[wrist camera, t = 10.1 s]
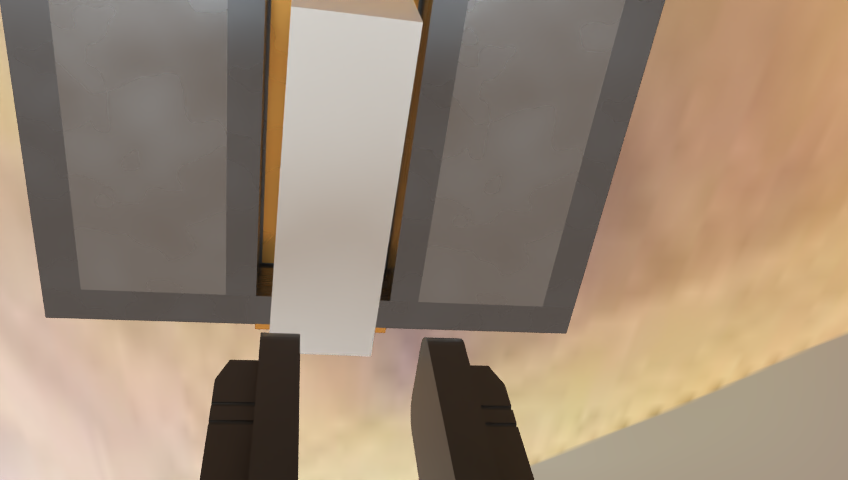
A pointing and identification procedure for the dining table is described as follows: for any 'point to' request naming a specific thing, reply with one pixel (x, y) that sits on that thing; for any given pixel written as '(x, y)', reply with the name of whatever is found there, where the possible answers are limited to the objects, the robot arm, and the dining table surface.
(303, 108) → the white rectangular block
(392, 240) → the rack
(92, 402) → the dining table surface
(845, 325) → the dining table surface
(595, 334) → the dining table surface
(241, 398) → the robot arm
